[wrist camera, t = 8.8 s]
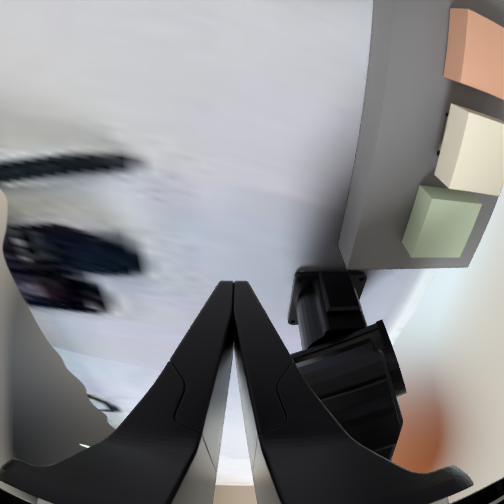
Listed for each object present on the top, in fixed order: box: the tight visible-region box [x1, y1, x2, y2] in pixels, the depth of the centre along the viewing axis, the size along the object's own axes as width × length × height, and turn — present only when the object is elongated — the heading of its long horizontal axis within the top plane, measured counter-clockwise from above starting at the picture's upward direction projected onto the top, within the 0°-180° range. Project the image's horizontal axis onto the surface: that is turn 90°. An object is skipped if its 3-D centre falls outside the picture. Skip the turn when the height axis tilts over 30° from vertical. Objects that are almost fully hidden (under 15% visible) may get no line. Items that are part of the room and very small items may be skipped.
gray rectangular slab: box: [338, 0, 504, 270], centre depth 17 cm, size 22×12×3 cm, turn 178°
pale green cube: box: [402, 185, 482, 258], centre depth 20 cm, size 5×5×5 cm
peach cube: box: [443, 8, 504, 100], centre depth 13 cm, size 5×5×5 cm
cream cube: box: [434, 103, 504, 196], centre depth 15 cm, size 5×5×5 cm
